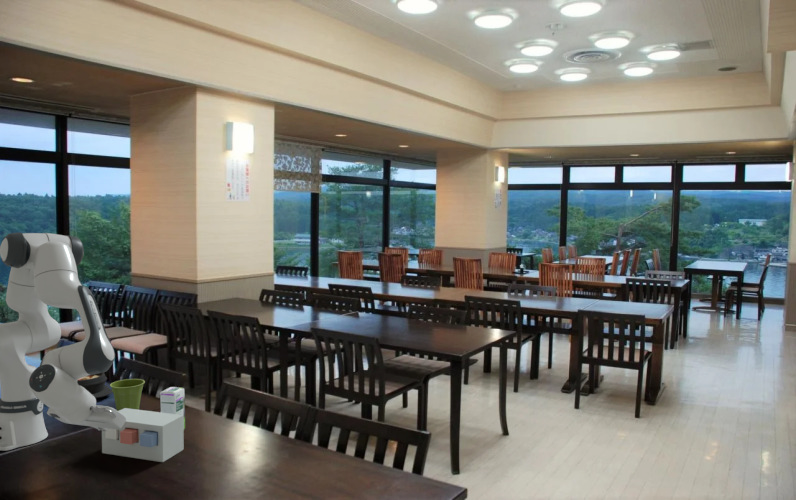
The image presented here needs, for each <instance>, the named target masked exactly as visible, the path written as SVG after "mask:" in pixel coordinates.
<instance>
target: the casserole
mask: <svg viewBox="0 0 796 500" xmlns="http://www.w3.org/2000/svg"><path fill="white" fill-rule="evenodd" d="M107 380H108V377H107V376H106V374H105V372H103V373H99V374H94V375H89V376H85V377H82V378H79V379H78V381H77V383H78V385H80V386H82V387H84V388H85V389H86V390H87V391H88V392H90V393H91V394H92V395H93V396H94V397H95V399H101V398H103V397H107V396H109V395H111V394H112V393H113V392H112V388H111V387H110V386H108V385H106V382H107Z"/></svg>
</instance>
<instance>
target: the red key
mask: <svg viewBox="0 0 796 500" xmlns="http://www.w3.org/2000/svg"><path fill="white" fill-rule="evenodd" d="M137 441H139V439H138V429H130V428H127V429H125V430H123V431H120V443H124V444H131V445H132V444H134V443H136V442H137Z"/></svg>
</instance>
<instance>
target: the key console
mask: <svg viewBox="0 0 796 500" xmlns="http://www.w3.org/2000/svg"><path fill="white" fill-rule="evenodd" d="M118 412H120V413H121V414H122V415H124V416H125V417H126V421H125V423H124V425H123V427H122V428H121V429H120V430H119V439H117V440H115V439H108V438H105V431H101V453H102V454H106V455H114V456H119V457H126V458H132V459H133V458H134V459H138V460H139V459H140V460H144V461H145V460H146V461H153V462H159V463H164V462H166V461H167V460H169V459H171V458H172V457H173V456H175V455H177V454H179V453H181V452H183V450H184V447H185V445H184V443H185V442H184V439H185V438H184V436H185V433H184V431H185V429H184V415H177V414H169V413H161V411H160V412H159V411H153V410H143V409H139V410H137V409H129V408H124V409H122V410H119V411H118ZM127 428H130V429H138V439H139V441H137V442H136V443H134V444H132V445H131V444H124V443H120V431H123V430H125V429H127ZM145 431H152V432H158V444H157V445H155V446H153V447H145V446H140V434H142V433H143V432H145Z"/></svg>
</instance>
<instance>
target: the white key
mask: <svg viewBox="0 0 796 500" xmlns="http://www.w3.org/2000/svg"><path fill="white" fill-rule="evenodd" d="M105 438H108V439H115V440H117V439H119V430H117V429H109V430H108V431H105Z"/></svg>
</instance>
